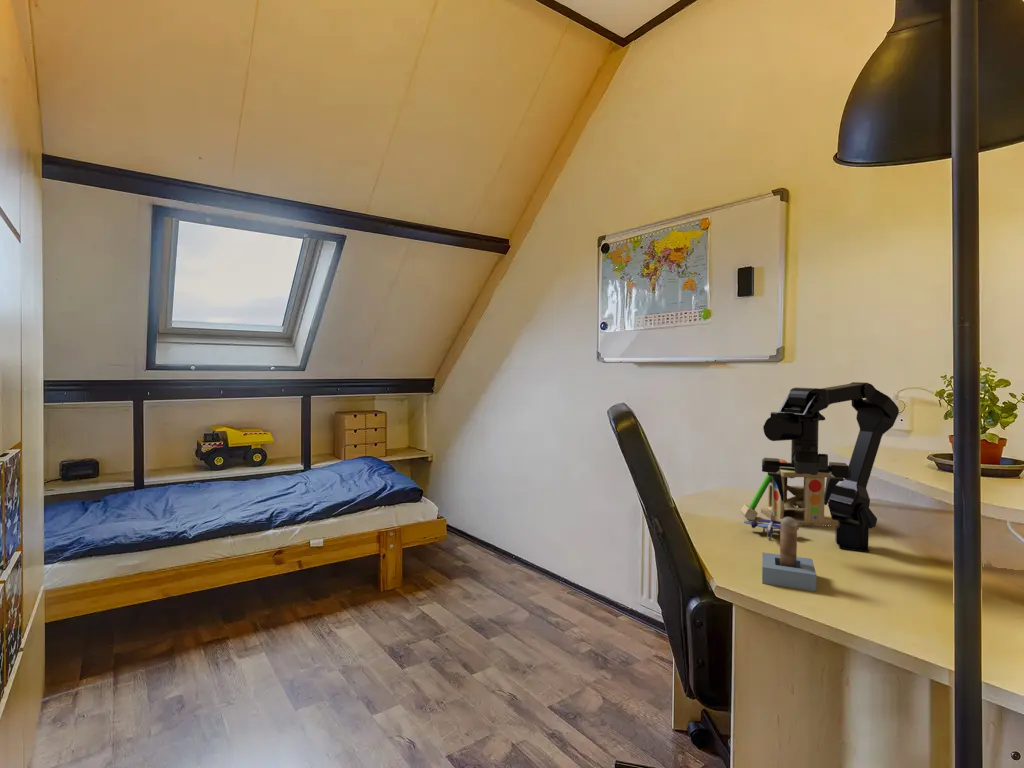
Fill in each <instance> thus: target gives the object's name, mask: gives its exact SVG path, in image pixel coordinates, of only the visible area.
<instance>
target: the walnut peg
mask: <svg viewBox="0 0 1024 768" xmlns="http://www.w3.org/2000/svg"><path fill="white" fill-rule="evenodd" d="M797 527H798V526H797V522H796V521H795V519H793V518H792V517H784V518H783V519H782V520H781V527H780V529H779V530H780V534H779V535H780V538H779V545H780V546H779V555H780V566H786V567H793V568H796V557H798V556H797V555H798V553H797V551H798V550H797V547H798V546H797V545H798V543H797V542H798V530H797Z"/></svg>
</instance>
